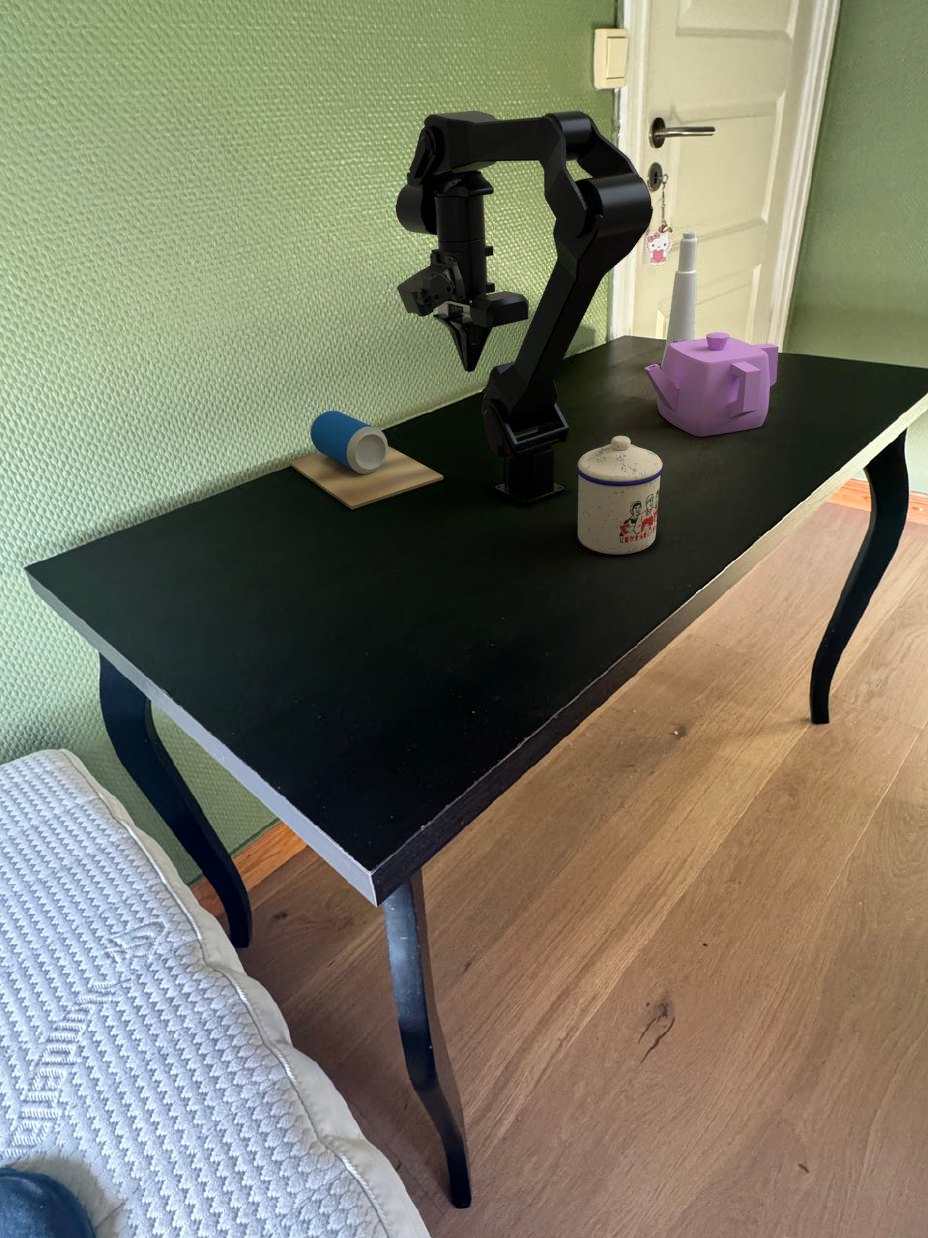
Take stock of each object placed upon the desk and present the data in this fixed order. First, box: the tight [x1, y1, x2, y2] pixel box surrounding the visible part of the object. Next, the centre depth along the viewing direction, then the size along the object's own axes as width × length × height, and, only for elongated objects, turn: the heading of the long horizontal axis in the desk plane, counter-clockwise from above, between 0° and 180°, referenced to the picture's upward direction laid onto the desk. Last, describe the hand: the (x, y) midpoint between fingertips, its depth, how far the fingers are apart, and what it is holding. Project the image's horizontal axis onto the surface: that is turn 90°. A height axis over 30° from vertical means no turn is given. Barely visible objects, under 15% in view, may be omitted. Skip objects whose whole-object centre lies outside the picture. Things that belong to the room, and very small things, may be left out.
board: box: [288, 445, 445, 510], centre depth 107 cm, size 20×14×1 cm
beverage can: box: [309, 410, 389, 474], centre depth 107 cm, size 6×6×12 cm
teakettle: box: [643, 331, 779, 438], centre depth 112 cm, size 17×17×12 cm
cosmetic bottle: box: [660, 231, 699, 369], centre depth 132 cm, size 6×6×22 cm
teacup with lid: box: [576, 435, 664, 556], centre depth 84 cm, size 12×9×12 cm
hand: (469, 371), depth 99 cm, fingers closed
